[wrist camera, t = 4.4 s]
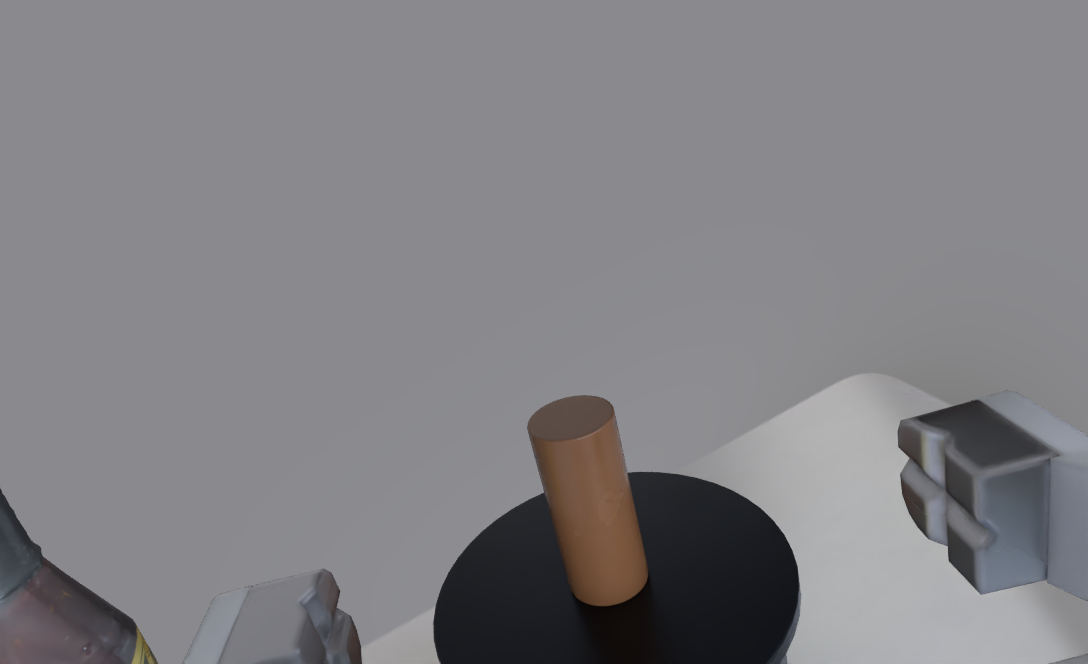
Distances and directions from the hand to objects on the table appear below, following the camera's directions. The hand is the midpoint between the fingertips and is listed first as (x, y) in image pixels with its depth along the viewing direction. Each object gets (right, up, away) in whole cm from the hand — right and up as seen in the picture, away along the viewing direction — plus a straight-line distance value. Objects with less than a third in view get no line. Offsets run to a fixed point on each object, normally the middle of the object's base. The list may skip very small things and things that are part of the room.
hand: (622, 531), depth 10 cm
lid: (+1, -6, +16) cm, 17 cm away
